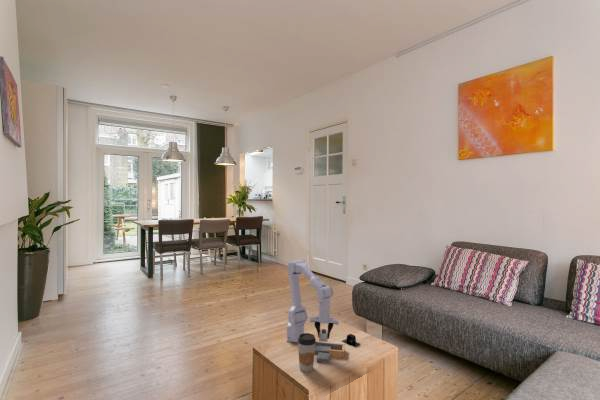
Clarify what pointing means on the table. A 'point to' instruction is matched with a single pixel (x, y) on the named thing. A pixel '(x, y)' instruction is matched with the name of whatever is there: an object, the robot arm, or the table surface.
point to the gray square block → (323, 357)
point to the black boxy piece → (351, 340)
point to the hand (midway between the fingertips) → (323, 337)
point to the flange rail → (330, 349)
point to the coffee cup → (306, 351)
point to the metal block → (323, 335)
